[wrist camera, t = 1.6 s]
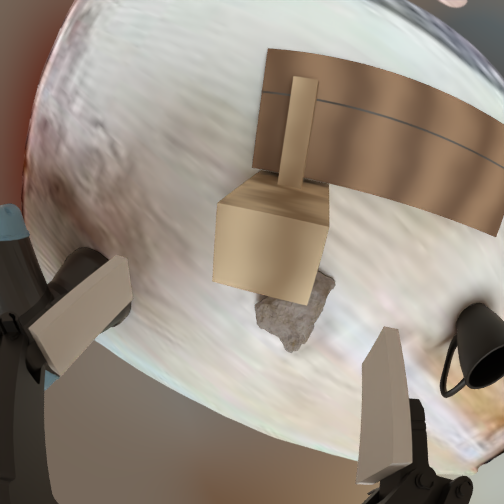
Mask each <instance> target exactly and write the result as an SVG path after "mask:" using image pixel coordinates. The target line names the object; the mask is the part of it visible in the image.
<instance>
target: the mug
mask: <svg viewBox="0 0 504 504" xmlns="http://www.w3.org/2000/svg"><path fill="white" fill-rule="evenodd" d="M456 328H457V334H456V335H455V336H454V337H453V339H452V341H451V343H450V346H449V349H448V352H447V356H446V360H445V364H444V368H443V372H442V376H441V380H440V391H441V394H442V396H443V397H445V398H448V397H451V396H453V395H454V394H456V393H457V392H458V391H460V390H461V389H462V388H463V387H464V386H465V385H467V386H468V387H469V388H471V389H480V388H484V387H487V386H489V385H491V384H493V383H495V382H496V381H498V380H499V379H501V378H502V377H503V376H504V321H503V320H502V319H501V318H500V317H499V316H498V315H497V314H496V313H494V312H493V311H492V310H490V309H489V308H488V307H486V306H485V305H484V304H482V303H476V304H473V305H471V306H469V307H468V308H466V309H465V310H464V311H463V312H462V313H461V315H460V316H459V318H458V320H457V324H456ZM457 346H458V354H459V360H460V366H461V369H462V372H463V376H464V378H463V379H462V380H461V381H460V382H459V383H458V384H457V385H456V386H455V387H454V388H453V389H451V390H449V391H447V390H446V382H447V376H448V372H449V368H450V364H451V360H452V357H453V354H454V351H455V349H456V347H457Z"/></svg>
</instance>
